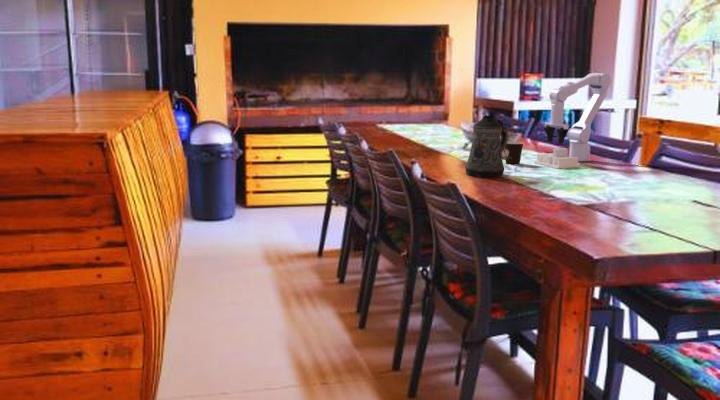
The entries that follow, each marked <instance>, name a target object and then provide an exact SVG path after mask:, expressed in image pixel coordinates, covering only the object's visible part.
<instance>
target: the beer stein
mask: <svg viewBox="0 0 720 400" xmlns="http://www.w3.org/2000/svg"><path fill="white" fill-rule="evenodd" d="M472 129H473V130H472V131H473V137H472V142H471V147H470V152H469V156H468V157H467V162H466V164H465V166H464V167H465V174H466V176H468V177H472V178H482V179H492V178H494V179H495V178H496V179H497V178H501V177H503V176H504V172H505V166H504V162H503V158H502V152H503V150H504V148H505V146H506V144H507V142H509V141H508V140H509V132H508V129H507V127H506V126H505V125H504V122H503V121H502V120H500V119H498V118H495V116H494V115H484V116H483V117H482V118H481V119H480V120H479V121H477V123H475V124H474V125H473V126H472ZM500 136H501V139H500Z"/></svg>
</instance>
